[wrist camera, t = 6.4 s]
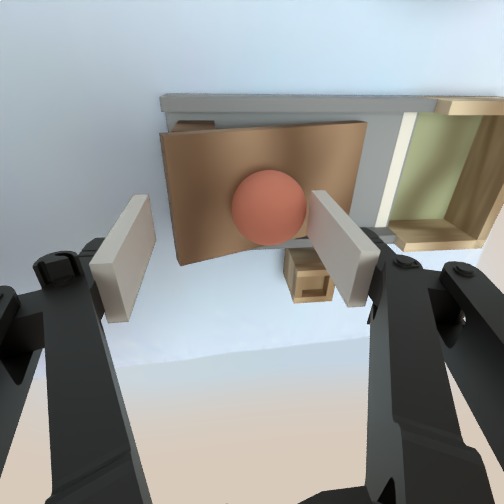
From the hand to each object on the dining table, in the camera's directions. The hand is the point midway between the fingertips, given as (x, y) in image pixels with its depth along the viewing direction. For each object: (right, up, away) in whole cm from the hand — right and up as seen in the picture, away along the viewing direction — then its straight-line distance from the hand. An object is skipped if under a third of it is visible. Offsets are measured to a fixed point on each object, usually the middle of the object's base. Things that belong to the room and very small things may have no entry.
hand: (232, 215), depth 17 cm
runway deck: (+4, +5, +8) cm, 10 cm away
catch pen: (+16, +5, +9) cm, 19 cm away
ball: (+2, +1, +1) cm, 2 cm away
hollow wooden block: (+6, -3, +12) cm, 14 cm away
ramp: (+2, +4, +6) cm, 8 cm away
